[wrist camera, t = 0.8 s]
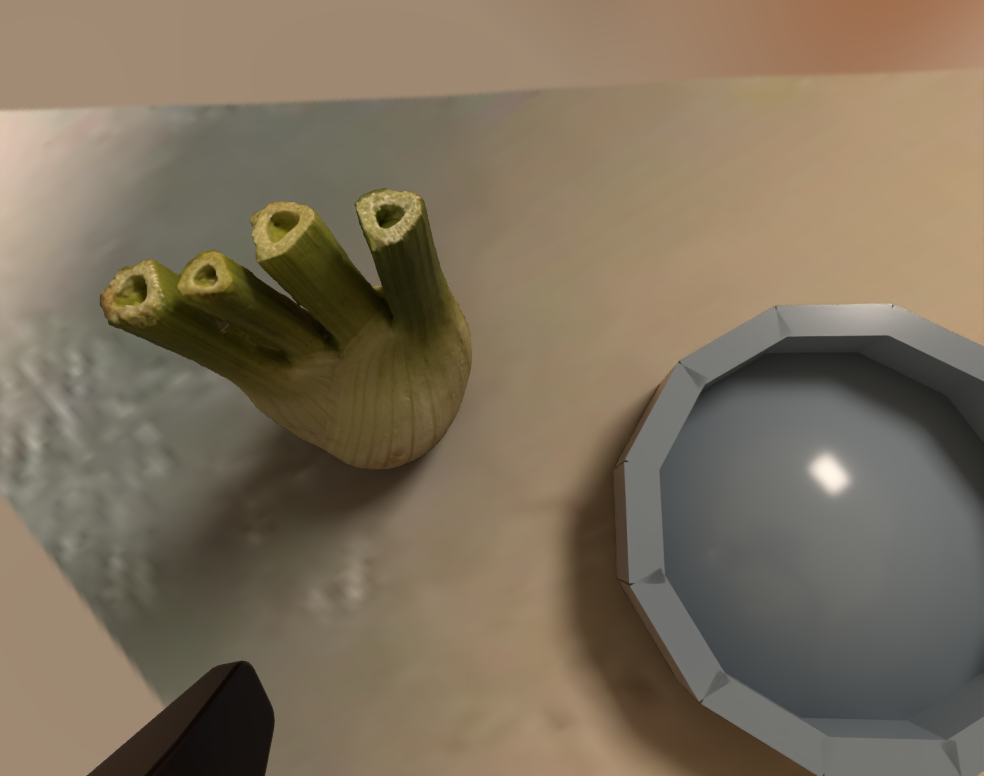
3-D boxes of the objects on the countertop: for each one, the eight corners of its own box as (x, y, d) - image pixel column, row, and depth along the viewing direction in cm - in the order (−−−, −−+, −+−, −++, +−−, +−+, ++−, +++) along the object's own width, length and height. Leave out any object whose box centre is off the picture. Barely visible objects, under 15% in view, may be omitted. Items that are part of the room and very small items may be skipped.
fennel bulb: (487, 350, 22) (437, 145, 11) (463, 488, 21) (379, 429, 10) (330, 327, 23) (118, 111, 11) (299, 461, 22) (29, 376, 10)
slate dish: (1075, 754, 18) (1162, 789, 16) (623, 742, 19) (637, 773, 17) (996, 329, 21) (1058, 301, 19) (608, 334, 22) (617, 307, 20)
